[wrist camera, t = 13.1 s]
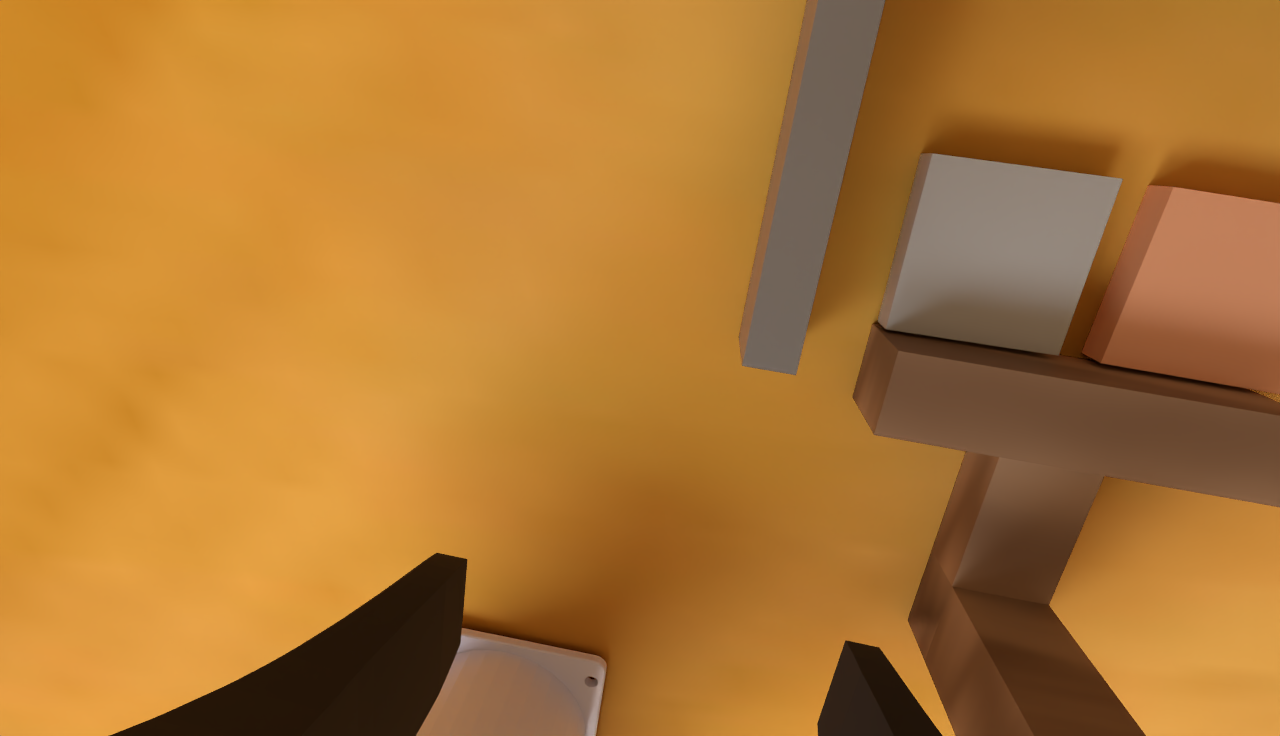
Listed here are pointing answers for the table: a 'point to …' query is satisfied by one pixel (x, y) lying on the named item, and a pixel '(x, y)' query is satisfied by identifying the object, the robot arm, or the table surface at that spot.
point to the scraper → (1043, 506)
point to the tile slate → (995, 252)
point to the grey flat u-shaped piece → (807, 178)
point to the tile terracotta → (1196, 291)
